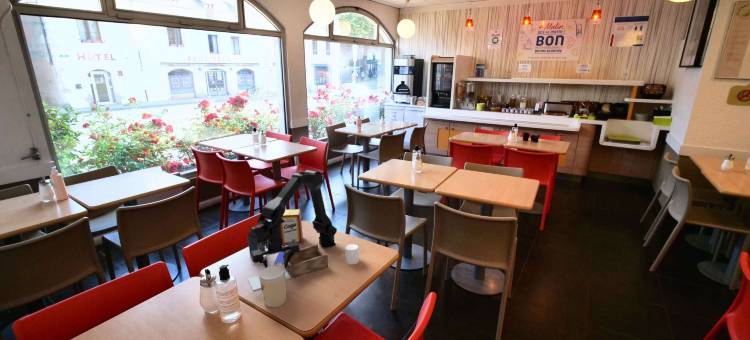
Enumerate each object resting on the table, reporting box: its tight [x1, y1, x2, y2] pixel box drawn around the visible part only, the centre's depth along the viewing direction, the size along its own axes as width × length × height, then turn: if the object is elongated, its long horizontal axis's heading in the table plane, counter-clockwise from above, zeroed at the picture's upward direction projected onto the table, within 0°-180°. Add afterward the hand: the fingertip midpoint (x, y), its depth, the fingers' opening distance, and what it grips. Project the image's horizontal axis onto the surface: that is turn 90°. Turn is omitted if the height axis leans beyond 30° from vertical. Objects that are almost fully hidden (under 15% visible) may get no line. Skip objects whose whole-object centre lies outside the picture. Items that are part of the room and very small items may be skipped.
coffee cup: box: [258, 265, 287, 308], centre depth 127 cm, size 9×9×12 cm
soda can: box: [247, 235, 266, 254], centre depth 159 cm, size 7×7×12 cm
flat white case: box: [247, 263, 292, 292], centre depth 141 cm, size 15×9×5 cm, turn 122°
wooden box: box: [283, 243, 329, 280], centre depth 149 cm, size 16×11×6 cm
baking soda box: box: [281, 208, 304, 246], centre depth 170 cm, size 10×6×16 cm
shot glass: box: [343, 242, 361, 265], centre depth 153 cm, size 7×7×7 cm
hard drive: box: [273, 252, 284, 266], centre depth 158 cm, size 2×8×12 cm
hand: (276, 270), depth 143 cm, fingers open, 7 cm apart
